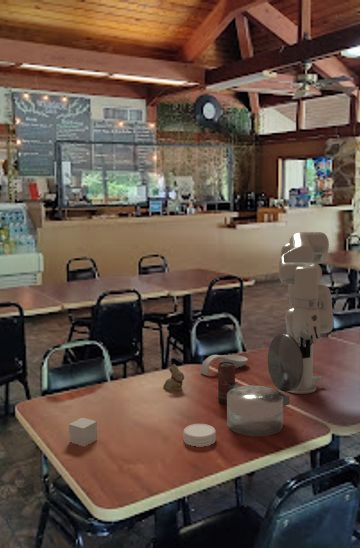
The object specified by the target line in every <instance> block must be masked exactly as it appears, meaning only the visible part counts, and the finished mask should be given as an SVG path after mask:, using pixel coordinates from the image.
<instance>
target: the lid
mask: <svg viewBox="0 0 360 548" xmlns="http://www.w3.org/2000/svg"><path fill="white" fill-rule="evenodd" d="M267 368H268V373H269V376H270V379H271V381H272V383H273V384H274V387H276V388H277V389H278V390H280V391H282V392H284V393H285V392H286V393H287V392H288V391H293V390H295V389H296V388H297V387H298V385H299V384H300V381H301V379H302V374H303V358H302V353H301V350H300V347H299V345H298V343H297V342H296V340H295V339H294V338H293V337H292V336H290V335H288V334H287V333H286V334H285V333H283V334H282V333H281V334H280V333H279V334H277V335H276V336H274V338H272V340H271V342H270V345H269V347H268V352H267ZM288 393H289V392H288Z"/></svg>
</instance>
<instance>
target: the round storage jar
mask: <svg viewBox="0 0 360 548" xmlns="http://www.w3.org/2000/svg"><path fill="white" fill-rule="evenodd" d="M228 388H229V389H231V390H230V391H229V392H228V393H227V404H226V425H227V428H228V429H229V430H230V431H232V432H234V433H236V434H239V435H242V436H246V437H247V436H248V437H268V436H272V435H276V434H278V433H280V432H281V431H282V430H283V425H284V407H285V406H290V395H289V394H287V393H285V392H283V391H281V390H279V389H278V390H277V389H275V388H273V387H268V386H263V385H242V386H240V385H239V384H237V383H236V381H235V382H234V383H228Z"/></svg>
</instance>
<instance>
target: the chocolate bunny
mask: <svg viewBox="0 0 360 548" xmlns="http://www.w3.org/2000/svg"><path fill="white" fill-rule="evenodd" d="M168 370H169V372H170V374H171V377H169V378H167V379H165V382H164V384H163V385H162V386H163V389H165V390H166V391H171V392H180V391H182V390H183V381H184V380H185V374H184V373H183V371H181V370H180V369H179V367H178V366H177V365H176V364H175V363H173V364H172V365H171V366H169V367H168Z"/></svg>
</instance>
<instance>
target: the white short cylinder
mask: <svg viewBox="0 0 360 548" xmlns="http://www.w3.org/2000/svg"><path fill="white" fill-rule="evenodd" d="M182 433H183V442H184V443H185V444H186V445H188V446H190V445H191V446H190V447H194V446H196V447H195V448H205V447H204V446H206V447H209V446H212V445H213V444H215V442H216V441H217V430H216V429H215V427H213V426H212V425H209V424H206V423H193V424H190V425H187V426H186V427H185V428H184V429H183V432H182ZM211 444H212V445H211Z"/></svg>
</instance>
